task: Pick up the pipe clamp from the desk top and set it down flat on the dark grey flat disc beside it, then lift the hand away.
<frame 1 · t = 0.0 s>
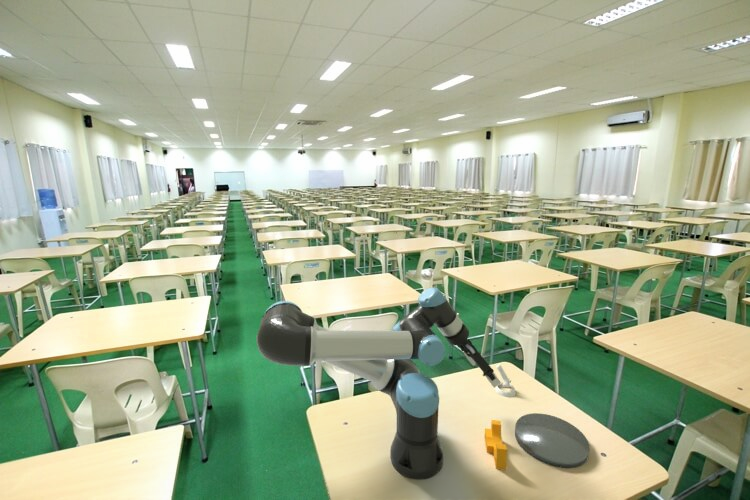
hand: (485, 373, 115), 15 cm above the table, tool tilted 35°, fingers open, 13 cm apart
white ring with handle: (505, 391, 131), on the table
dark grey flat disc: (550, 441, 104), on the table
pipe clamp: (494, 453, 101), on the table
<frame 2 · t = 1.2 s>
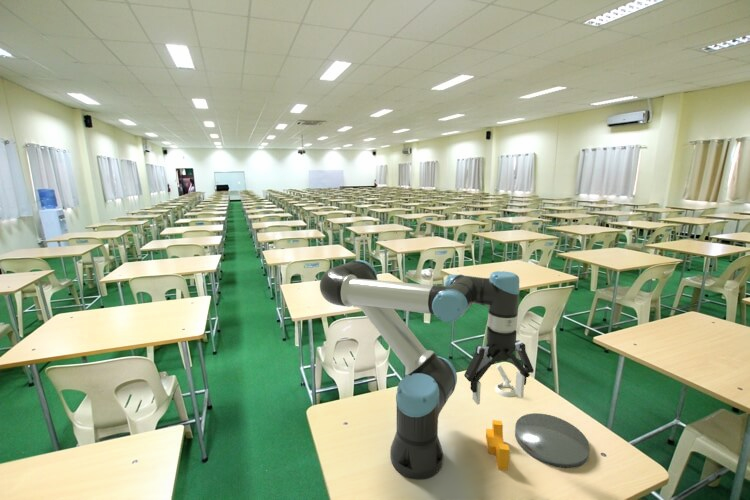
hand: (497, 398, 97), 18 cm above the table, tool pointing down, fingers open, 13 cm apart
nothing on the table moved.
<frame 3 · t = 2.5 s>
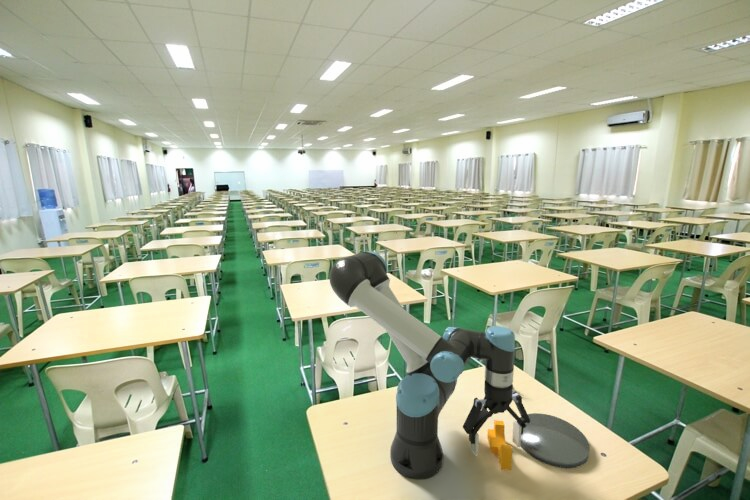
hand: (495, 447, 100), 2 cm above the table, tool pointing down, fingers open, 13 cm apart
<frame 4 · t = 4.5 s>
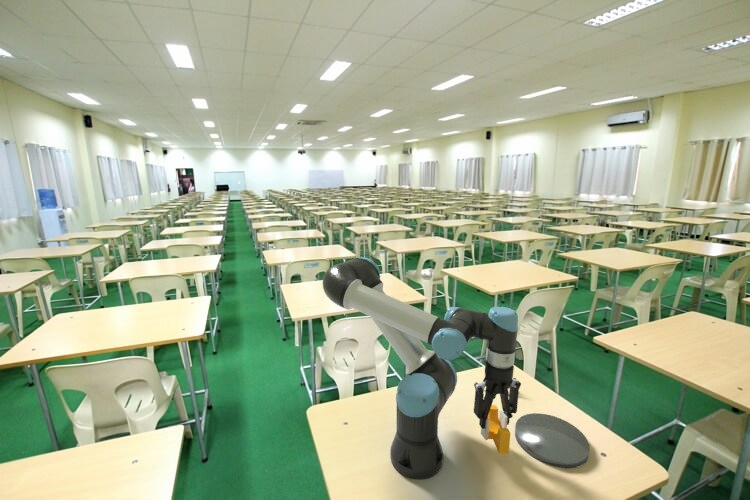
hand: (493, 435, 100), 5 cm above the table, tool pointing down, fingers closed on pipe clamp, 5 cm apart
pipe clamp: (493, 438, 99), point 5 cm above the table, touching gripper
everything else where it was.
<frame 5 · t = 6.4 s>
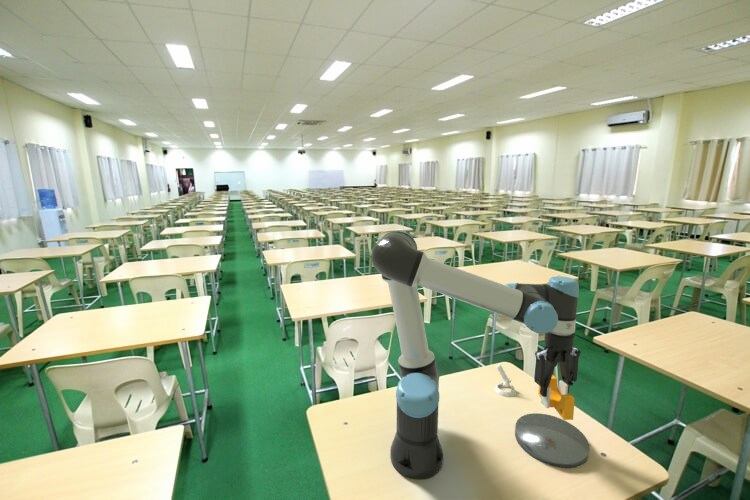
hand: (553, 403, 102), 13 cm above the table, tool pointing down, fingers closed on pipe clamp, 5 cm apart
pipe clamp: (554, 406, 101), point 13 cm above the table, touching gripper
everything else where it was.
when the fingers open (3 cm above the table, at t = 8.5 s): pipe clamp stays where it is, resting on dark grey flat disc.
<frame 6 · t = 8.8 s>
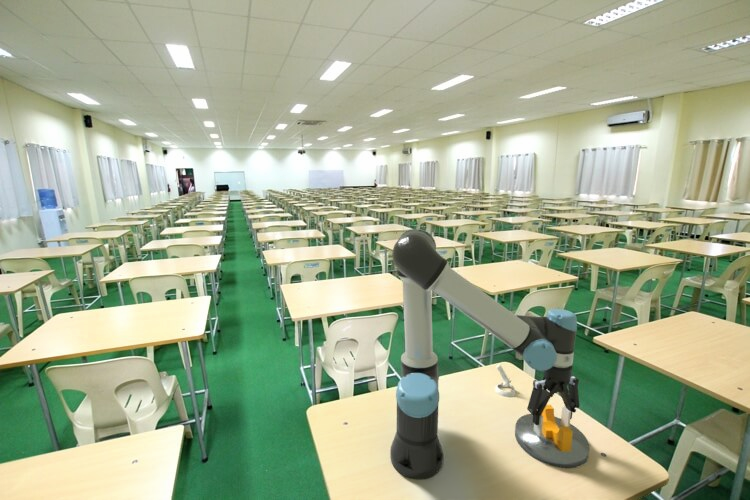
hand: (551, 430, 104), 4 cm above the table, tool pointing down, fingers open, 9 cm apart
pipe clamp: (551, 437, 103), point 2 cm above the table, touching dark grey flat disc
everything else where it was.
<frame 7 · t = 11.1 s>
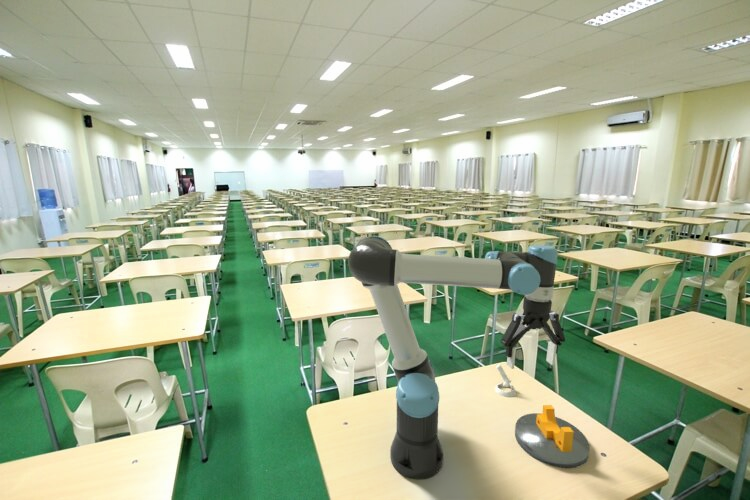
hand: (530, 364, 104), 24 cm above the table, tool pointing down, fingers open, 13 cm apart
nothing on the table moved.
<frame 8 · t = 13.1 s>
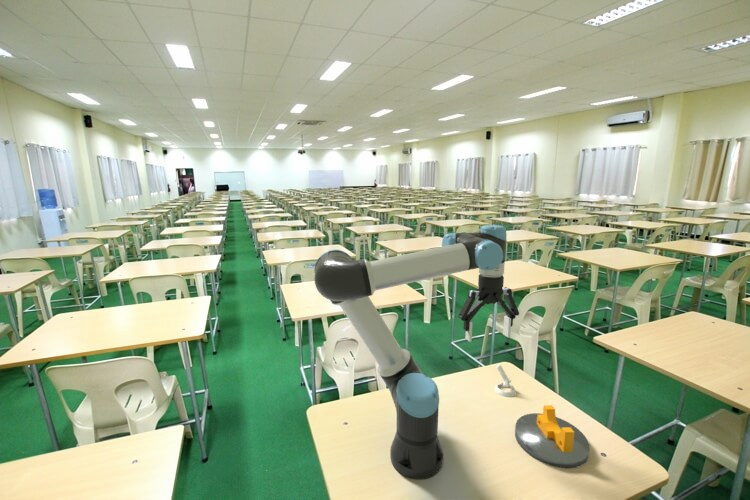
hand: (487, 338, 111), 29 cm above the table, tool pointing down, fingers open, 13 cm apart
nothing on the table moved.
at the end: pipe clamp inside the target area on the dark grey flat disc (1.1 cm from its centre), point 2.3 cm above the dark grey flat disc's base; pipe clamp touching dark grey flat disc; the gripper is holding nothing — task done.
